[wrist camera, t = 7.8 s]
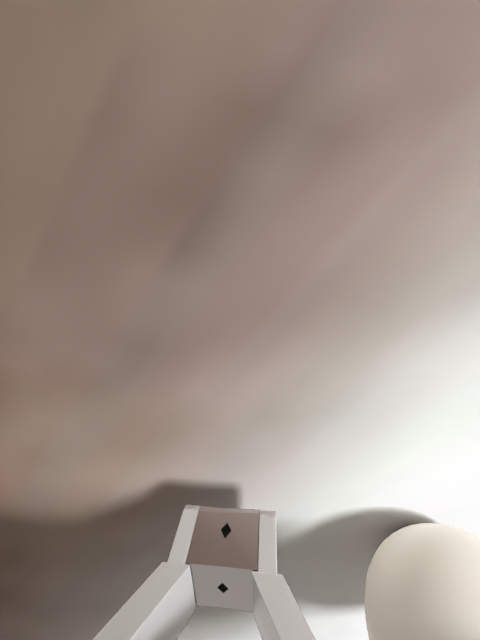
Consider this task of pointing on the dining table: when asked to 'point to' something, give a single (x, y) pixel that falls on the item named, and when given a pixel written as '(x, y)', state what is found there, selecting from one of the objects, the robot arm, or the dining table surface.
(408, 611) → the cue ball
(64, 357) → the dining table surface
